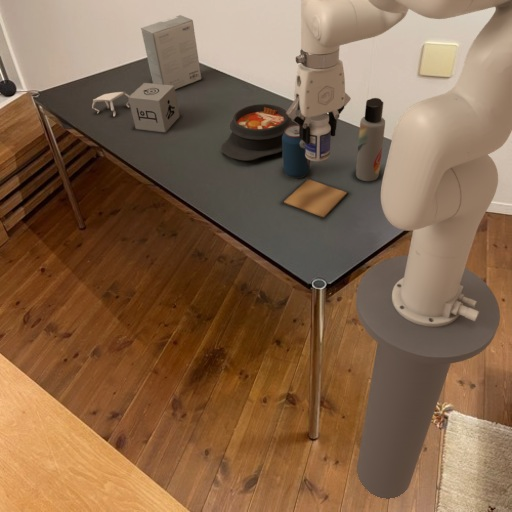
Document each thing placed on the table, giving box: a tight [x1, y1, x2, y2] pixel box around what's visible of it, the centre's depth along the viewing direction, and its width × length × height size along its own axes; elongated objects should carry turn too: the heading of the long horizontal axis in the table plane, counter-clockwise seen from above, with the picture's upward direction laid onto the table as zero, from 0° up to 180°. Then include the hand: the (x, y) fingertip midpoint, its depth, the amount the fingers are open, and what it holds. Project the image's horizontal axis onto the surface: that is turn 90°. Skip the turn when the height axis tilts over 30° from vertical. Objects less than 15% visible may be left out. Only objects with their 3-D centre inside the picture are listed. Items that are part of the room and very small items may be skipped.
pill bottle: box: [305, 113, 332, 162], centre depth 113 cm, size 6×6×10 cm
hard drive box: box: [140, 14, 202, 90], centre depth 169 cm, size 16×8×20 cm, turn 130°
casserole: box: [220, 103, 299, 162], centre depth 139 cm, size 25×19×8 cm
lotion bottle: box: [355, 97, 386, 182], centre depth 121 cm, size 6×6×20 cm
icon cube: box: [127, 82, 180, 133], centre depth 152 cm, size 10×10×10 cm
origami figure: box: [91, 91, 130, 117], centre depth 161 cm, size 12×8×5 cm
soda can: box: [281, 124, 311, 179], centre depth 127 cm, size 7×7×12 cm
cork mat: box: [283, 178, 348, 219], centre depth 122 cm, size 11×11×1 cm
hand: (317, 136), depth 113 cm, fingers closed on pill bottle, 5 cm apart
